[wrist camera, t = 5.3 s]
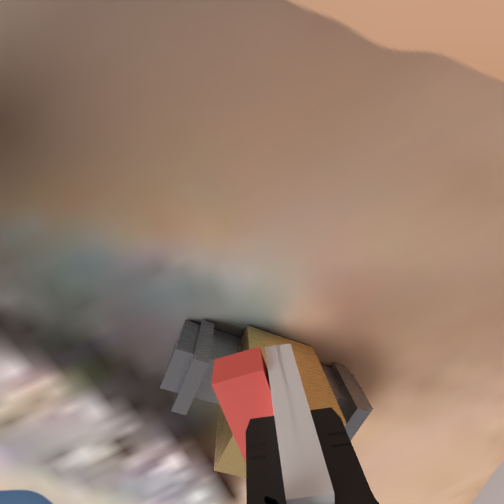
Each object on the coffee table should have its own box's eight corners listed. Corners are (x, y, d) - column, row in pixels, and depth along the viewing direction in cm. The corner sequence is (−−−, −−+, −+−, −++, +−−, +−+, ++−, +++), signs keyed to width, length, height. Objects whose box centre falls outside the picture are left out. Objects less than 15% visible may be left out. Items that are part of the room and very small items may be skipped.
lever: (320, 484, 17) (333, 533, 15) (261, 500, 17) (265, 551, 15) (274, 337, 13) (282, 371, 11) (200, 358, 13) (192, 396, 11)
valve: (166, 366, 25) (127, 478, 16) (190, 306, 23) (162, 393, 14) (328, 413, 28) (372, 529, 19) (360, 363, 26) (426, 464, 17)
